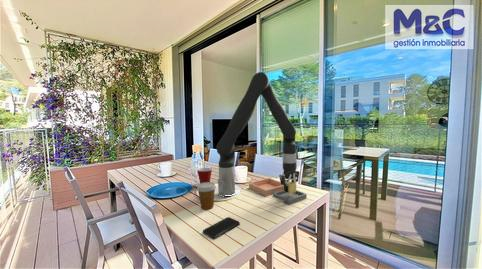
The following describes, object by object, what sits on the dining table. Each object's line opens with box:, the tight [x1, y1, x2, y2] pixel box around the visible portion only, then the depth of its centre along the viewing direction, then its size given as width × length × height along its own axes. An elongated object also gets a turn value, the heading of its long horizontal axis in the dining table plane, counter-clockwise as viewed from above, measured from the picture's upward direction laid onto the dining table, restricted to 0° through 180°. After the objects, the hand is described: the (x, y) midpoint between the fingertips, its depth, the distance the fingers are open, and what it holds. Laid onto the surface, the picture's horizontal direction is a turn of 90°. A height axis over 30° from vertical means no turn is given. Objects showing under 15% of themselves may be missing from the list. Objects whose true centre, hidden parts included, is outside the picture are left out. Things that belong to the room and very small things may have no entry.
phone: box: [202, 216, 240, 240], centre depth 86 cm, size 8×1×15 cm
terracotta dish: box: [248, 177, 283, 197], centre depth 128 cm, size 17×17×4 cm
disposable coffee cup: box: [196, 181, 217, 211], centre depth 105 cm, size 10×10×12 cm
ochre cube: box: [283, 180, 297, 194], centre depth 115 cm, size 5×5×5 cm
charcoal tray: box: [272, 189, 308, 205], centre depth 115 cm, size 14×12×2 cm
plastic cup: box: [196, 167, 213, 184], centre depth 138 cm, size 11×11×12 cm
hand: (289, 190), depth 115 cm, fingers closed on ochre cube, 5 cm apart
